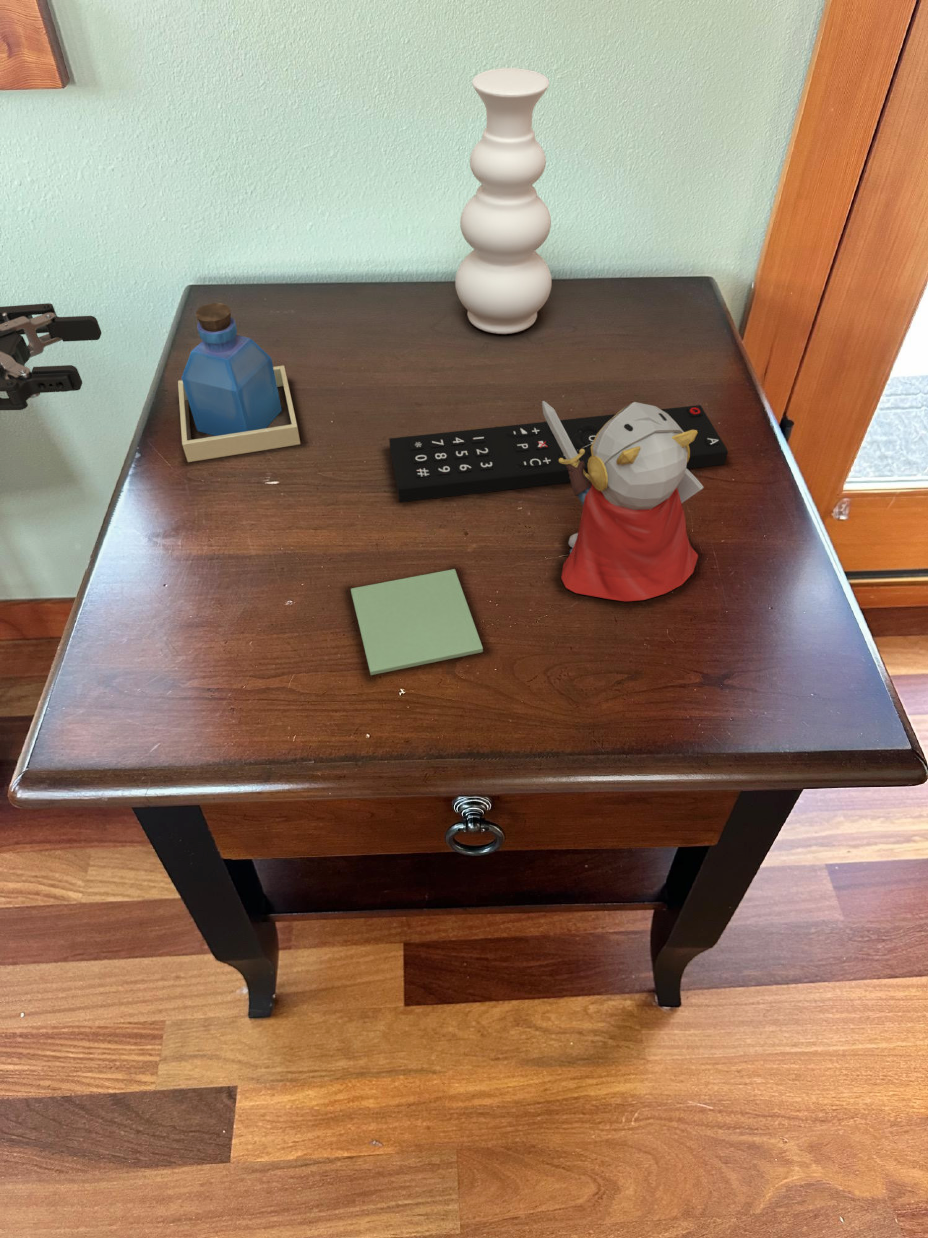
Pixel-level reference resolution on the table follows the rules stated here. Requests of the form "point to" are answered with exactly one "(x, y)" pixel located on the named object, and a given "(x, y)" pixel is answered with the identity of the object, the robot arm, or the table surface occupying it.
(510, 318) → the vase
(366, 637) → the mat
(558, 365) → the table surface
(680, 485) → the figurine
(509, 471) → the remote control
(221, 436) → the holder
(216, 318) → the perfume bottle
